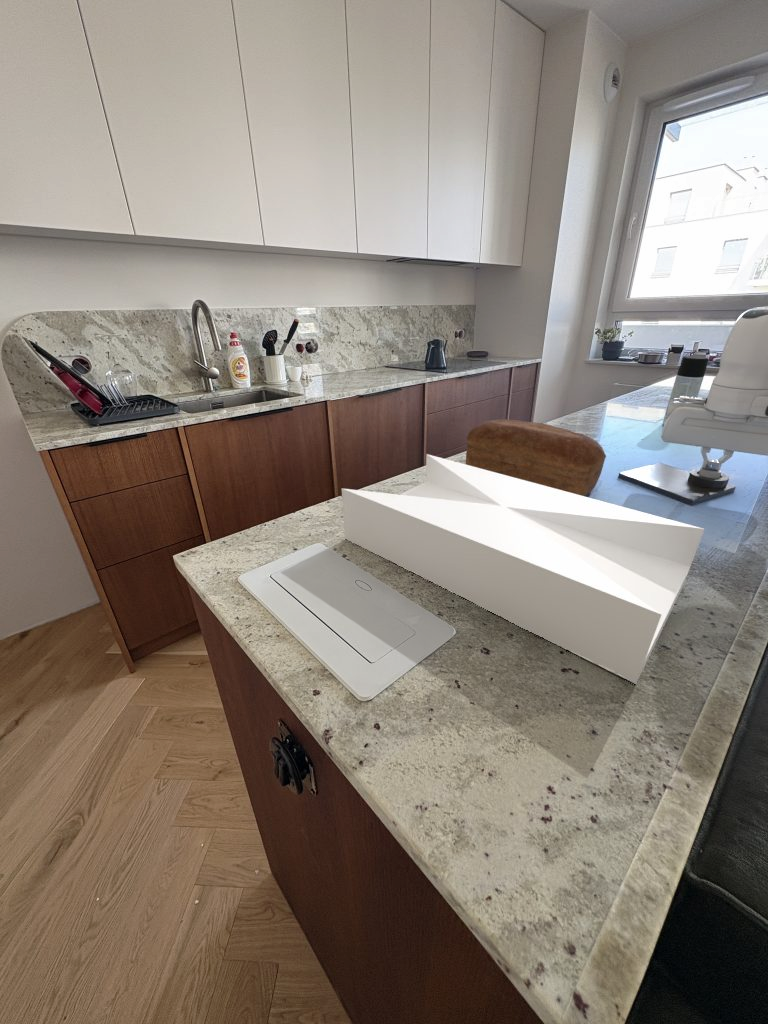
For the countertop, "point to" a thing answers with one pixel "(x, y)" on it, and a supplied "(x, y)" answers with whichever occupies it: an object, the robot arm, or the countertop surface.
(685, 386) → the spray can
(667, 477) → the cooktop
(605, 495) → the countertop surface
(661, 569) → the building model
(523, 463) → the bread
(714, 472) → the power button
